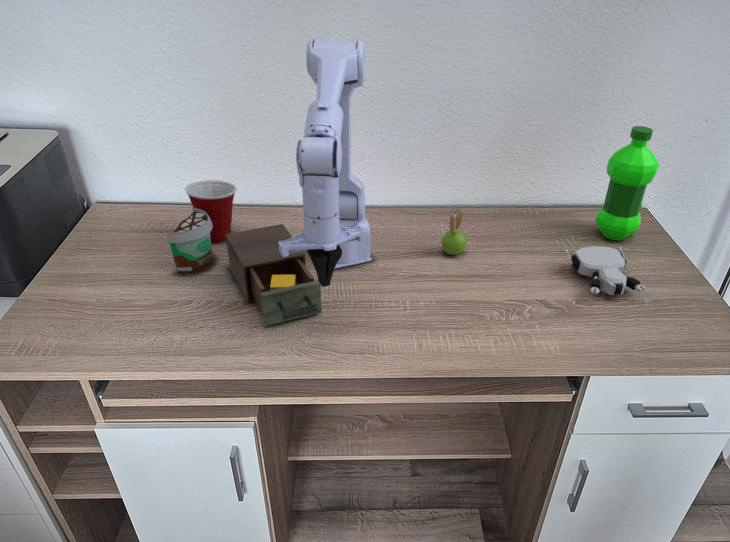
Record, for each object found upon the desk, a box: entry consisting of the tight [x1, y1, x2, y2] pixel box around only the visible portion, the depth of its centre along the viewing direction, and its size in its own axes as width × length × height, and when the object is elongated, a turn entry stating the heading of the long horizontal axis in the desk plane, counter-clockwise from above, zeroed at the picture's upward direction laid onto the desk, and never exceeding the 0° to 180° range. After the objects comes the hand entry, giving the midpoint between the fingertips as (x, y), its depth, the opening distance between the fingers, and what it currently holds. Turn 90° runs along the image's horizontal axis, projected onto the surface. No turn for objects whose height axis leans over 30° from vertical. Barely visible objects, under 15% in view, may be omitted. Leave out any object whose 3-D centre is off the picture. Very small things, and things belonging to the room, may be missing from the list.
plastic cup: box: [184, 179, 238, 244], centre depth 137 cm, size 11×11×12 cm
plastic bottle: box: [595, 125, 660, 241], centre depth 138 cm, size 10×10×25 cm
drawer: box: [247, 258, 323, 327], centre depth 115 cm, size 18×11×6 cm, turn 25°
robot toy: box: [565, 245, 646, 296], centre depth 127 cm, size 12×4×15 cm
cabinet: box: [225, 223, 307, 304], centre depth 124 cm, size 14×12×8 cm
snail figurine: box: [440, 208, 468, 256], centre depth 133 cm, size 5×6×12 cm
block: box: [270, 274, 296, 291], centre depth 115 cm, size 4×4×4 cm
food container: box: [166, 207, 213, 275], centre depth 127 cm, size 12×6×10 cm, turn 168°
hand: (324, 283), depth 107 cm, fingers closed
